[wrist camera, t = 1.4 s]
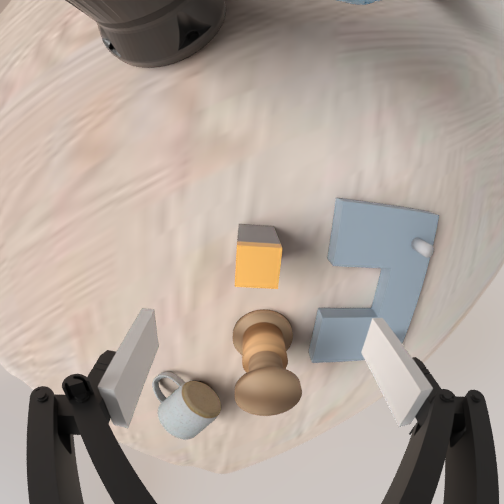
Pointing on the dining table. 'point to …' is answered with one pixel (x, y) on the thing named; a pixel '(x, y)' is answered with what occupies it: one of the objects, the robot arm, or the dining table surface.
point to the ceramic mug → (186, 406)
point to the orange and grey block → (257, 257)
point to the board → (374, 256)
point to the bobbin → (265, 364)
